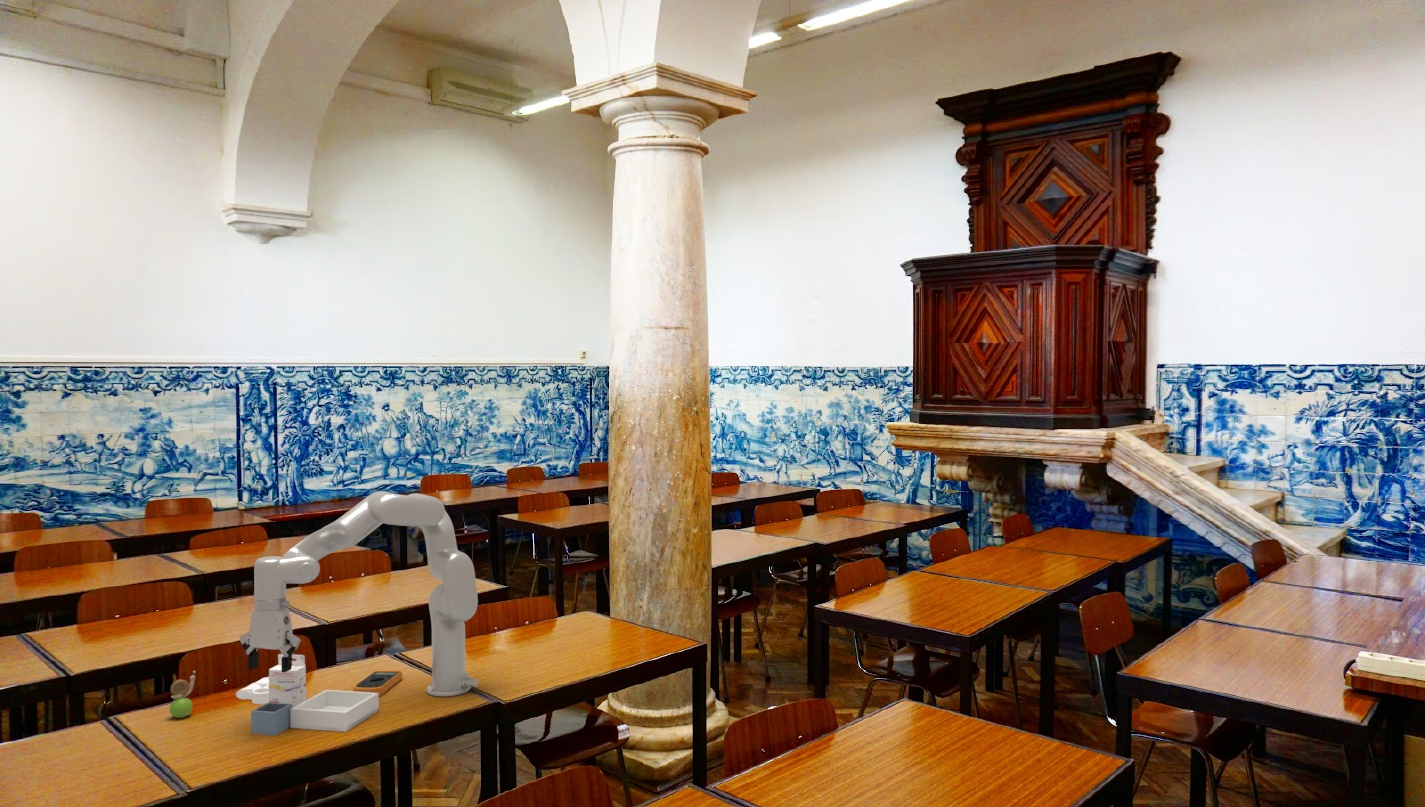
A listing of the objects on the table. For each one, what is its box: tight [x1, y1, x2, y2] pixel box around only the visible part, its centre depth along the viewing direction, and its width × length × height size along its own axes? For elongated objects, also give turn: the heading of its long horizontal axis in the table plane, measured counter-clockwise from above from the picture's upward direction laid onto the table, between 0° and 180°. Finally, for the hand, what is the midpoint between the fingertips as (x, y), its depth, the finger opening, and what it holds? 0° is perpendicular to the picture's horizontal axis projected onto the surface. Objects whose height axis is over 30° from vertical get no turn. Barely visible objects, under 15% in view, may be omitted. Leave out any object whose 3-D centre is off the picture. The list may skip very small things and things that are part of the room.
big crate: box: [290, 689, 380, 733], centre depth 255 cm, size 16×16×5 cm
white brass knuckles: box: [235, 676, 269, 705], centre depth 277 cm, size 3×18×15 cm
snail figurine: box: [169, 670, 196, 719], centre depth 257 cm, size 5×6×12 cm
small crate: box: [250, 702, 292, 736], centre depth 247 cm, size 7×7×6 cm
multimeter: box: [352, 668, 403, 698], centre depth 281 cm, size 9×18×3 cm, turn 176°
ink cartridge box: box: [268, 653, 307, 708], centre depth 263 cm, size 9×5×15 cm, turn 84°
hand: (269, 669), depth 247 cm, fingers open, 9 cm apart
